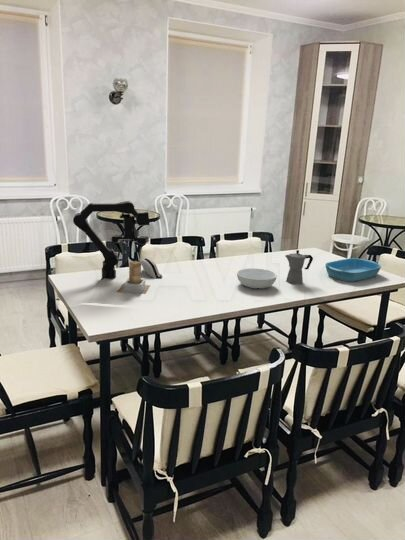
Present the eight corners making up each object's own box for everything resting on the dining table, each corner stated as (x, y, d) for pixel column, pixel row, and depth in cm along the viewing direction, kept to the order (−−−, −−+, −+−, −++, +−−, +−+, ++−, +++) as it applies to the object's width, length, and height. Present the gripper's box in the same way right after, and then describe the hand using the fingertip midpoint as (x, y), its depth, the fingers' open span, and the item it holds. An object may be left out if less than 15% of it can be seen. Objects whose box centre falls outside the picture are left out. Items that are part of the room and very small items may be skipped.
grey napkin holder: (162, 277, 241) (157, 261, 237) (155, 281, 239) (149, 265, 235) (151, 269, 255) (146, 254, 251) (144, 272, 253) (138, 257, 249)
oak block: (129, 288, 215) (129, 262, 211) (135, 286, 218) (135, 260, 215) (134, 290, 213) (134, 264, 209) (140, 287, 217) (141, 262, 213)
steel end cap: (124, 292, 212) (124, 283, 211) (128, 286, 220) (128, 278, 219) (141, 293, 212) (141, 284, 210) (145, 288, 220) (145, 279, 218)
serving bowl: (252, 277, 249) (253, 265, 247) (283, 287, 235) (284, 274, 233) (228, 284, 235) (228, 272, 233) (258, 295, 221) (260, 282, 219)
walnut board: (116, 293, 212) (116, 291, 212) (123, 285, 225) (123, 283, 225) (145, 295, 212) (145, 293, 212) (150, 287, 224) (150, 285, 224)
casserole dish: (348, 285, 244) (350, 273, 242) (316, 275, 261) (318, 263, 259) (386, 276, 265) (388, 265, 263) (354, 267, 282) (356, 256, 280)
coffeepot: (284, 283, 240) (287, 251, 235) (280, 278, 249) (284, 247, 244) (312, 284, 241) (316, 252, 236) (307, 279, 250) (311, 248, 245)
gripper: (151, 223, 234) (152, 251, 239) (117, 222, 238) (119, 250, 243) (144, 228, 224) (146, 257, 229) (110, 226, 227) (111, 255, 232)
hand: (130, 255), depth 233 cm, fingers open, 9 cm apart
